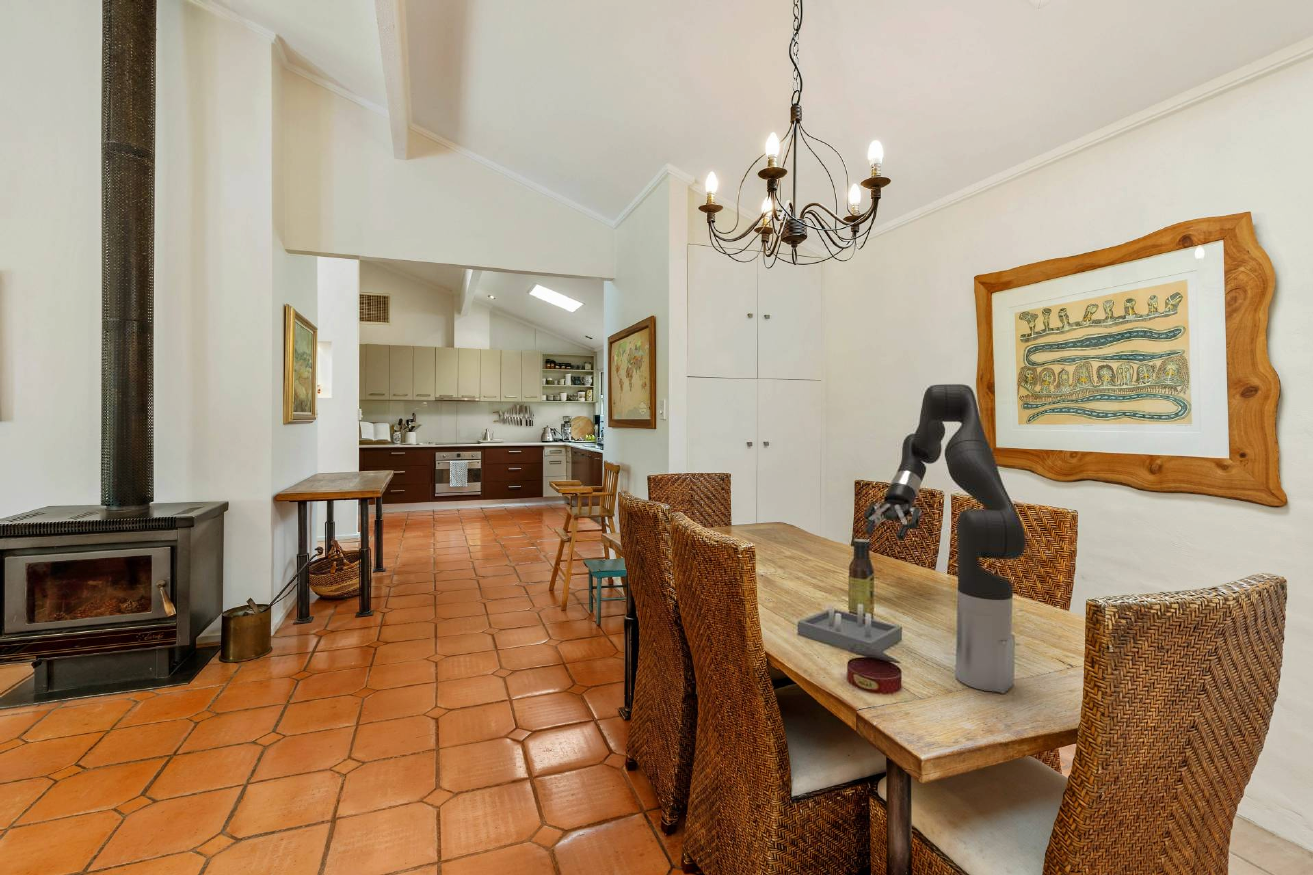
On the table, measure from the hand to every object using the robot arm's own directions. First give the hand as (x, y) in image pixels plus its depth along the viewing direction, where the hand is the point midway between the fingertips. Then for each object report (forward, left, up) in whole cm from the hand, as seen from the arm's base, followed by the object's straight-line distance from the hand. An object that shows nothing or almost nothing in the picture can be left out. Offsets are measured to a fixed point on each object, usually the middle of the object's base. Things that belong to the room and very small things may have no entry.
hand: (883, 536), depth 156 cm
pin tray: (-5, +26, -19) cm, 33 cm away
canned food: (-20, +44, -20) cm, 53 cm away
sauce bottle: (0, +11, -20) cm, 23 cm away
